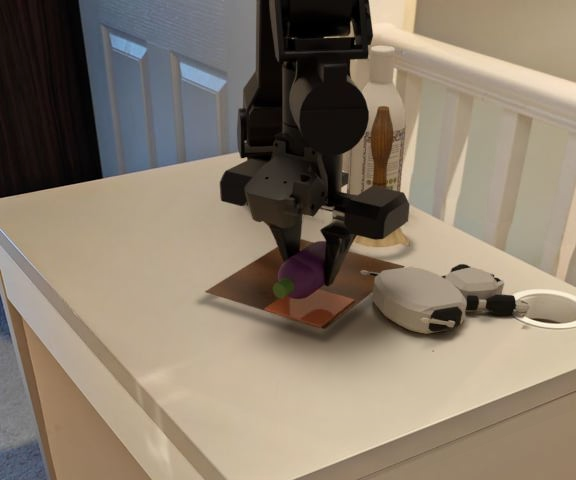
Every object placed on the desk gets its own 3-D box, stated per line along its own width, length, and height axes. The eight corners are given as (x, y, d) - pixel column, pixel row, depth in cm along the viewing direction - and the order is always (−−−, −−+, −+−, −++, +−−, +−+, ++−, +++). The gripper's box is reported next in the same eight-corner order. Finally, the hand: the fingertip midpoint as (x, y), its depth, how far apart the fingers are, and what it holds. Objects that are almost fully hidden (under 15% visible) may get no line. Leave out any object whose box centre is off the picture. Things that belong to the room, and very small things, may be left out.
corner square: (299, 285, 92) (299, 283, 92) (354, 301, 89) (354, 299, 89) (264, 310, 87) (264, 308, 87) (320, 327, 85) (320, 325, 84)
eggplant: (314, 268, 91) (315, 231, 88) (347, 278, 89) (349, 240, 86) (262, 305, 84) (261, 265, 81) (296, 315, 82) (297, 276, 80)
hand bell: (360, 263, 99) (368, 121, 89) (332, 237, 105) (337, 101, 95) (421, 252, 102) (436, 113, 91) (390, 228, 107) (401, 94, 97)
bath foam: (408, 217, 110) (424, 48, 97) (371, 230, 107) (382, 57, 94) (372, 202, 114) (383, 38, 101) (335, 214, 111) (341, 47, 98)
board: (293, 246, 103) (293, 236, 102) (404, 275, 97) (405, 265, 96) (205, 301, 92) (204, 291, 91) (324, 339, 85) (325, 328, 84)
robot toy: (463, 287, 96) (351, 304, 90) (471, 249, 93) (356, 264, 87) (530, 334, 88) (411, 356, 82) (541, 294, 85) (419, 314, 79)
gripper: (179, 125, 75) (192, 286, 85) (358, 163, 67) (349, 335, 77) (249, 97, 82) (253, 249, 92) (419, 128, 74) (403, 290, 85)
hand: (310, 279), depth 86 cm, fingers closed on eggplant, 4 cm apart
